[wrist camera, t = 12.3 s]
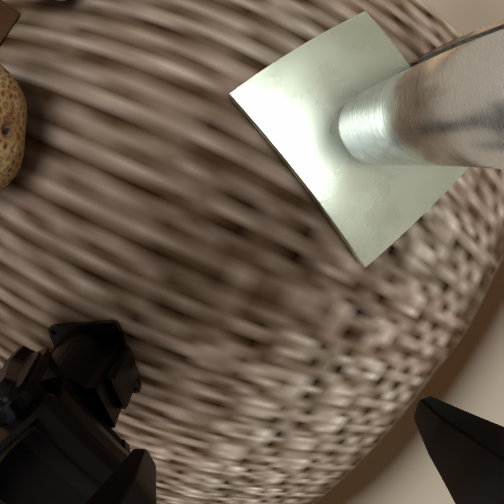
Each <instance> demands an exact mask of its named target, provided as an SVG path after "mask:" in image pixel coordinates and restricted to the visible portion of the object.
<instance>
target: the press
mask: <svg viewBox="0 0 504 504" xmlns="http://www.w3.org/2000/svg"><path fill="white" fill-rule="evenodd" d="M502 29H504V20H501V21H498V22H496V23H493V24H491V25H488V26H485V27H483V28H481V29H478V30H476V31H473V32H471V33H468V34H466V35H464V36H462V37H459V38H457V39H455V40H452V41H450V42H448V43H446V44H444V45H442V46H439V47H437V48H435V49H433V50H431V51H429V52H427V53H425V54H423V55H422V56H420V57H419V58H417V59H416V60H414V61H413V62H411V63H410V64H409V63H408V62H407V61H406V59H405V58H404V57H403V55H402V54H401V53H400V51H399V50H398V49H397V48H396V46H395V45H394V44H393V42H392V41H391V40H390V39H389V38H388V36H387V35H386V34H385V33H384V32H383V30H382V29H381V28H380V27H379V26H378V25H377V23H376V22H375V21H374V20H373V19H372V18H371V17H370V15H369V14H368V13H367V12H366V11H365V12H362V13H360V14H358V15H356V16H354V17H352V18H350V19H348V20H346V21H344V22H342V23H341V24H339V25H337V26H335V27H333V28H331V29H329V30H327V31H326V32H324V33H322V34H320V35H318V36H317V37H315V38H313V39H311V40H310V41H308V42H306V43H305V44H303V45H301V46H300V47H298V48H296V49H295V50H293V51H291V52H290V53H288V54H287V55H285V56H283V57H282V58H280V59H279V60H277V61H276V62H274V63H273V64H271V65H270V66H268V67H267V68H265V69H264V70H262V71H261V72H259V73H258V74H256V75H255V76H253V77H252V78H250V79H249V80H248V81H246V82H245V83H243V84H242V85H241V86H239V87H238V88H237V89H235V90H234V91H232V92H231V93H230V96H229V99H230V100H231V101H232V102H233V103H234V104H235V105H236V106H237V107H238V109H239V110H240V111H241V112H242V113H243V114H244V115H245V117H246V118H247V119H248V120H249V121H250V122H251V123H252V125H253V126H254V127H255V128H256V129H257V130H258V132H259V133H260V134H261V135H262V136H263V138H264V139H265V140H266V141H267V142H268V143H269V145H270V146H271V147H272V148H273V150H274V151H275V152H276V153H277V154H278V156H279V157H280V158H281V159H282V161H283V162H284V163H285V164H286V166H287V167H288V168H289V169H290V171H291V172H292V173H293V174H294V176H295V177H296V178H297V179H298V181H299V182H300V183H301V185H302V186H303V187H304V188H305V190H306V191H307V192H308V194H309V195H310V196H311V198H312V199H313V200H314V201H315V203H316V204H317V205H318V207H319V208H320V209H321V211H322V212H323V213H324V215H325V216H326V218H327V219H328V220H329V222H330V223H331V224H332V226H333V227H334V229H335V230H336V231H337V233H338V234H339V235H340V237H341V238H342V240H343V241H344V243H345V244H346V245H347V247H348V248H349V250H350V251H351V252H352V254H353V255H354V257H355V258H356V260H357V261H358V263H360V264H361V265H363V266H364V267H365V268H366V267H367V266H368V265H369V264H370V263H371V262H373V261H374V260H375V259H376V258H377V257H378V256H379V255H380V254H381V253H383V252H384V251H385V250H386V249H387V248H388V247H389V246H390V245H391V244H392V243H394V242H395V241H396V240H397V239H398V238H399V237H400V236H401V235H402V234H403V233H404V232H405V231H406V230H407V229H409V228H410V227H411V226H412V225H413V224H414V223H415V222H416V221H417V220H418V219H419V218H420V217H421V216H422V215H423V214H424V213H425V212H426V211H427V210H428V209H429V208H430V207H431V206H432V205H433V204H434V203H435V202H436V201H437V200H438V199H439V198H440V197H441V196H442V195H443V194H444V193H445V192H446V191H447V190H448V189H449V188H450V187H451V186H452V185H453V184H454V183H455V182H456V181H457V179H458V178H459V177H460V176H461V175H462V174H463V173H464V172H465V171H466V170H467V169H468V168H469V167H457V166H425V165H369V164H365V163H363V162H361V161H359V160H358V159H356V158H355V157H354V156H353V155H352V154H351V153H350V152H349V151H348V150H347V148H346V147H345V145H344V143H343V141H342V139H341V136H340V131H339V117H340V113H341V110H342V108H343V106H344V105H345V104H346V102H347V101H348V100H350V99H351V98H352V97H354V96H356V95H358V94H360V93H362V92H364V91H365V90H367V89H369V88H371V87H373V86H375V85H377V84H379V83H381V82H383V81H385V80H387V79H389V78H391V77H393V76H395V75H397V74H399V73H401V72H403V71H405V70H407V69H409V68H411V67H413V66H415V65H417V64H419V63H422V62H424V61H426V60H428V59H430V58H432V57H435V56H437V55H439V54H441V53H444V52H446V51H448V50H451V49H453V48H455V47H458V46H460V45H463V44H465V43H467V42H470V41H472V40H475V39H478V38H480V37H483V36H485V35H488V34H491V33H493V32H496V31H499V30H502Z"/></svg>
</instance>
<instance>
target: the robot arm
mask: <svg viewBox="0 0 504 504" xmlns="http://www.w3.org/2000/svg"><path fill="white" fill-rule="evenodd" d="M111 326H113V327H115V329H112V328H111ZM54 330H55V331H56V333H55V332H54ZM49 334H50V336H51V339H52V341H53V344H54V346H55V347H54V348H53V349H52V350H51V352H50V351H49V349H48V348H45V349H42V350H40V351H38V352H34V350H30V349H28V348H26V347H25V346H22V347H20V348H18V349H17V350H16V351H15V352H14V353H13V354H12V355H11V356H10V357H9V359H8V360H7V361H6V362H5V364H4V365H3V368H2V369H1V370H0V504H156V466H155V463H154V461H153V459H152V458H151V456H150V454H149V453H148V451H147V450H146V449H134V450H133V451H132V452H131V453H130V448H129V444H128V443H127V442H126V441H125V440H123V439H121V438H120V437H119V436H118V435H117V434H116V433H115V432H114V431H113V430H112V429H111V428H114V427H115V425H116V422H117V420H118V417H119V414H120V411H121V409H126V407H127V406H128V404H129V401H130V398H131V395H132V393H138V392H140V389H141V384H140V381H139V379H138V375H139V373H138V370H137V368H136V365H135V362H134V359H133V357H132V354H131V351H130V348H129V347H127V346H126V343H125V340H124V337H123V334H122V331H121V328H120V325H119V324H118V323H117V322H116V321H114V320H109V321H97V322H85V323H71V324H56V325H52V326H51V327H50V328H49ZM134 386H136V387H137V388H135V387H134ZM414 419H415V423H416V425H417V427H418V429H419V432H420V434H421V437H422V439H423V442H424V444H425V446H426V449H427V451H428V454H429V455H430V457H431V459H432V461H433V463H434V465H435V466H436V468H437V470H438V472H439V474H440V475H441V477H442V479H443V481H444V483H445V485H446V487H447V488H448V490H449V492H450V494H451V496H452V498H453V500H454V502H455V503H456V504H504V427H503V426H500V425H498V424H495V423H493V422H490V421H488V420H485V419H483V418H480V417H478V416H476V415H473V414H471V413H468V412H466V411H464V410H461V409H459V408H457V407H454V406H452V405H450V404H448V403H445V402H443V401H441V400H439V399H436V398H434V397H432V396H427V397H424V398H422V399H420V400H419V401H418V404H417V407H416V411H415V414H414Z"/></svg>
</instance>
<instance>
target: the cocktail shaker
mask: <svg viewBox="0 0 504 504" xmlns="http://www.w3.org/2000/svg"><path fill="white" fill-rule="evenodd" d="M339 131H340V136H341V139H342V141H343V143H344V145H345V147H346V148H347V150H348V151H349V152H350V153H351V154H352V155H353V156H354V157H355V158H356V159H358V160H359V161H361V162H363V163H365V164H369V165H425V166H457V167H476V168H491V169H504V29H502V30H499V31H496V32H493V33H491V34H488V35H485V36H483V37H480V38H478V39H475V40H472V41H470V42H467V43H465V44H463V45H460V46H458V47H455V48H453V49H451V50H448V51H446V52H444V53H441V54H439V55H437V56H435V57H432V58H430V59H428V60H426V61H424V62H422V63H419V64H417V65H415V66H413V67H411V68H409V69H407V70H405V71H403V72H401V73H399V74H397V75H395V76H393V77H391V78H389V79H387V80H385V81H383V82H381V83H379V84H377V85H375V86H373V87H371V88H369V89H367V90H365V91H364V92H362V93H360V94H358V95H356V96H354V97H352V98H351V99H350V100H348V101H347V102H346V104H345V105H344V106H343V108H342V110H341V113H340V117H339Z"/></svg>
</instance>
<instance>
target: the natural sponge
mask: <svg viewBox="0 0 504 504" xmlns="http://www.w3.org/2000/svg"><path fill="white" fill-rule="evenodd" d="M26 122H27V105H26V100H25V97H24V94H23V92H22V90H21V88H20V86H19V85H18V83H17V82H16V80H15V79H14V77H13V76H12V75H11V74H10V73H9V72H8V71H7V70H6V69H5V68H4V67H3V66H2V65H0V192H1V191H2V190H3V189H4V188H5V187H6V186H7V185H8V184H9V183H10V182H11V181H12V180H13V178H14V177H15V176H16V174H17V173H18V171H19V169H20V167H21V164H22V160H23V155H24V149H25V133H26Z"/></svg>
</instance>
